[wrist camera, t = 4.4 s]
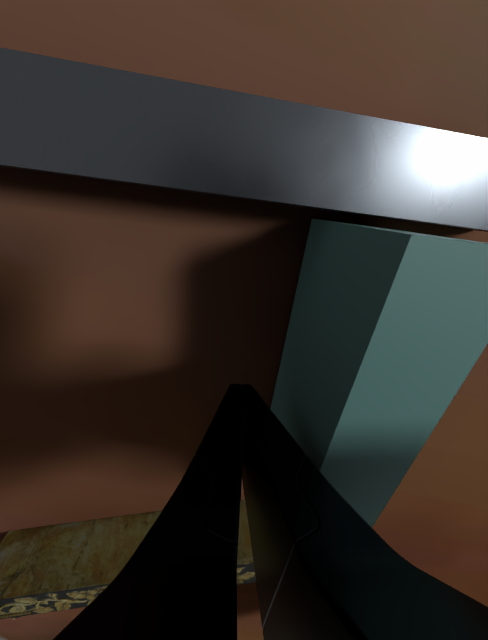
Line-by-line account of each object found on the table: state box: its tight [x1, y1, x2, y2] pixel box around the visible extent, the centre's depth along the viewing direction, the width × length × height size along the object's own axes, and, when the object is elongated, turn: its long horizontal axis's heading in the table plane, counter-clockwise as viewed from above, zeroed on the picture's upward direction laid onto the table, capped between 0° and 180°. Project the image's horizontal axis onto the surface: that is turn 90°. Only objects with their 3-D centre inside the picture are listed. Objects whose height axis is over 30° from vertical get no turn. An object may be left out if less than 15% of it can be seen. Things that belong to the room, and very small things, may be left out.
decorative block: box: [0, 500, 256, 620], centre depth 14 cm, size 15×2×4 cm, turn 94°
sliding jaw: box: [270, 219, 488, 528], centre depth 9 cm, size 12×2×5 cm, turn 173°
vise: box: [0, 48, 488, 232], centre depth 7 cm, size 14×26×5 cm, turn 83°
